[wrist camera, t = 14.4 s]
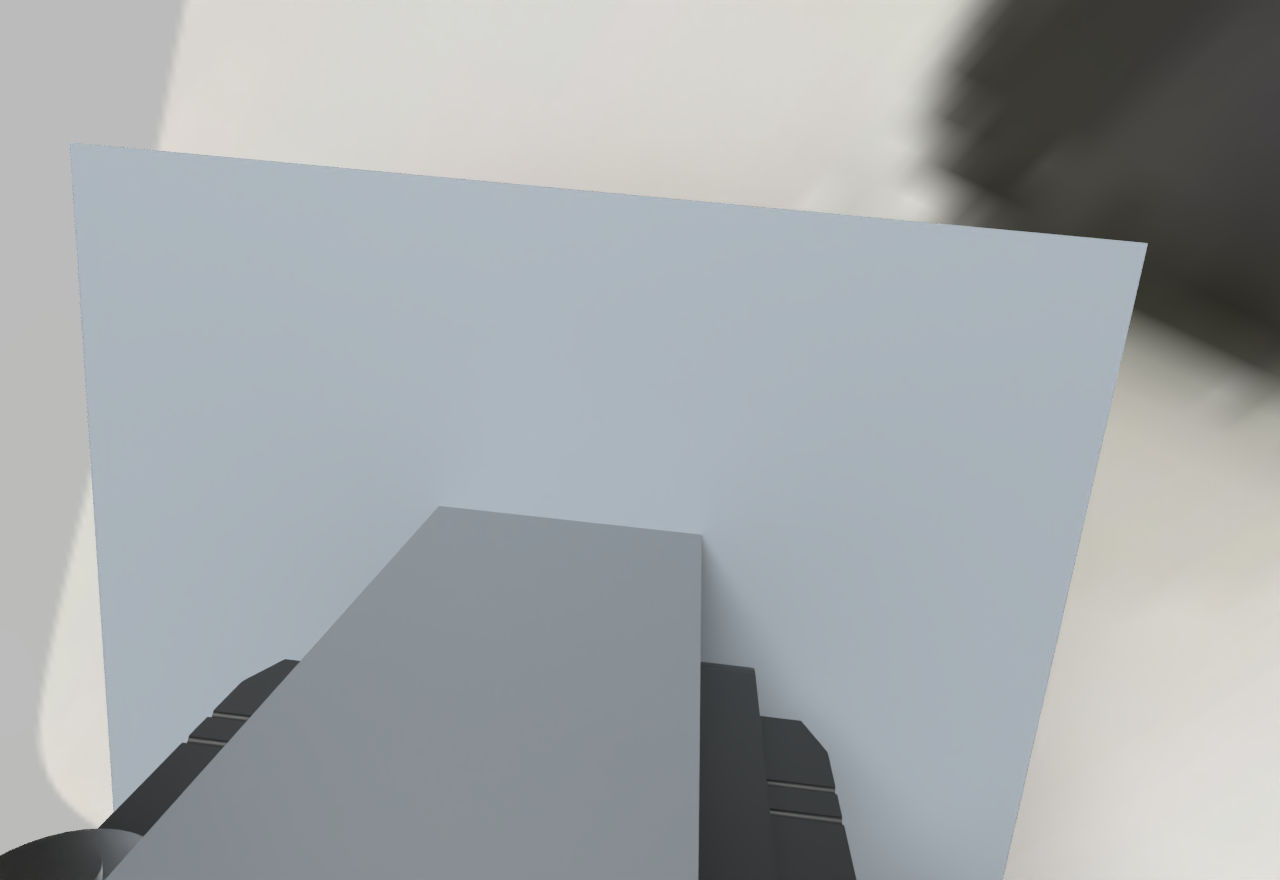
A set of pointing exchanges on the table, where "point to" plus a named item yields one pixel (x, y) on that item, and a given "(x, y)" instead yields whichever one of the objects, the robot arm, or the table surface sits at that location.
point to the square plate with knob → (571, 510)
